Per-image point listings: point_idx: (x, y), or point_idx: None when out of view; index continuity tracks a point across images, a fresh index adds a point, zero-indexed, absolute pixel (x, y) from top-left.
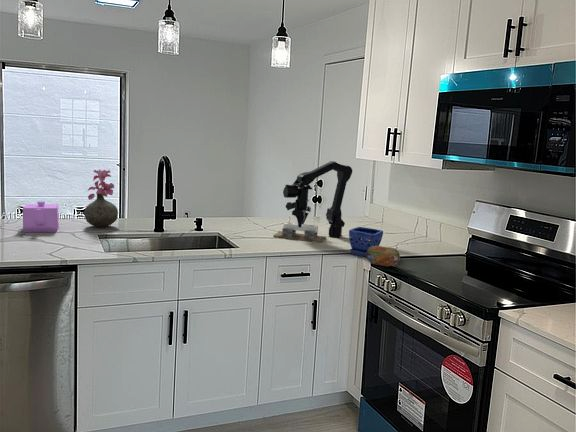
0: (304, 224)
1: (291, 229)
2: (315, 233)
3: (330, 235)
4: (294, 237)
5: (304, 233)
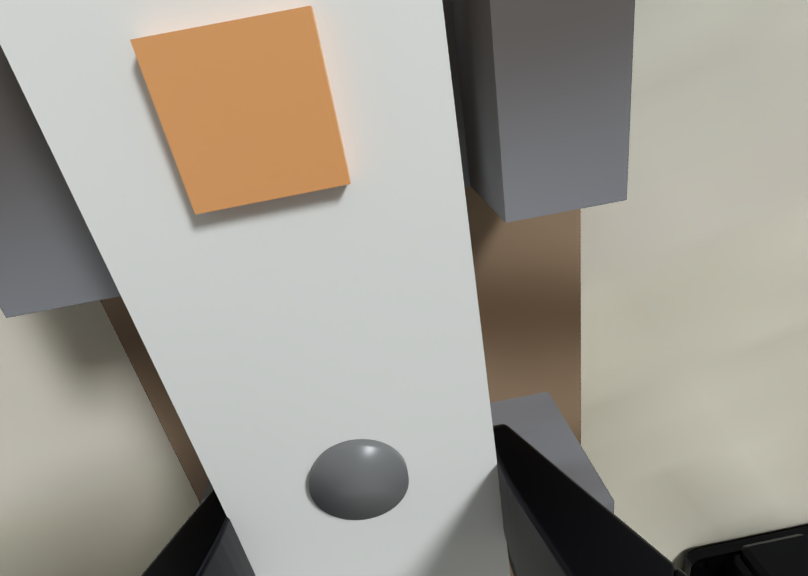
0: (488, 570)
1: (3, 310)
2: (507, 549)
3: (727, 564)
4: (120, 313)
5: None
